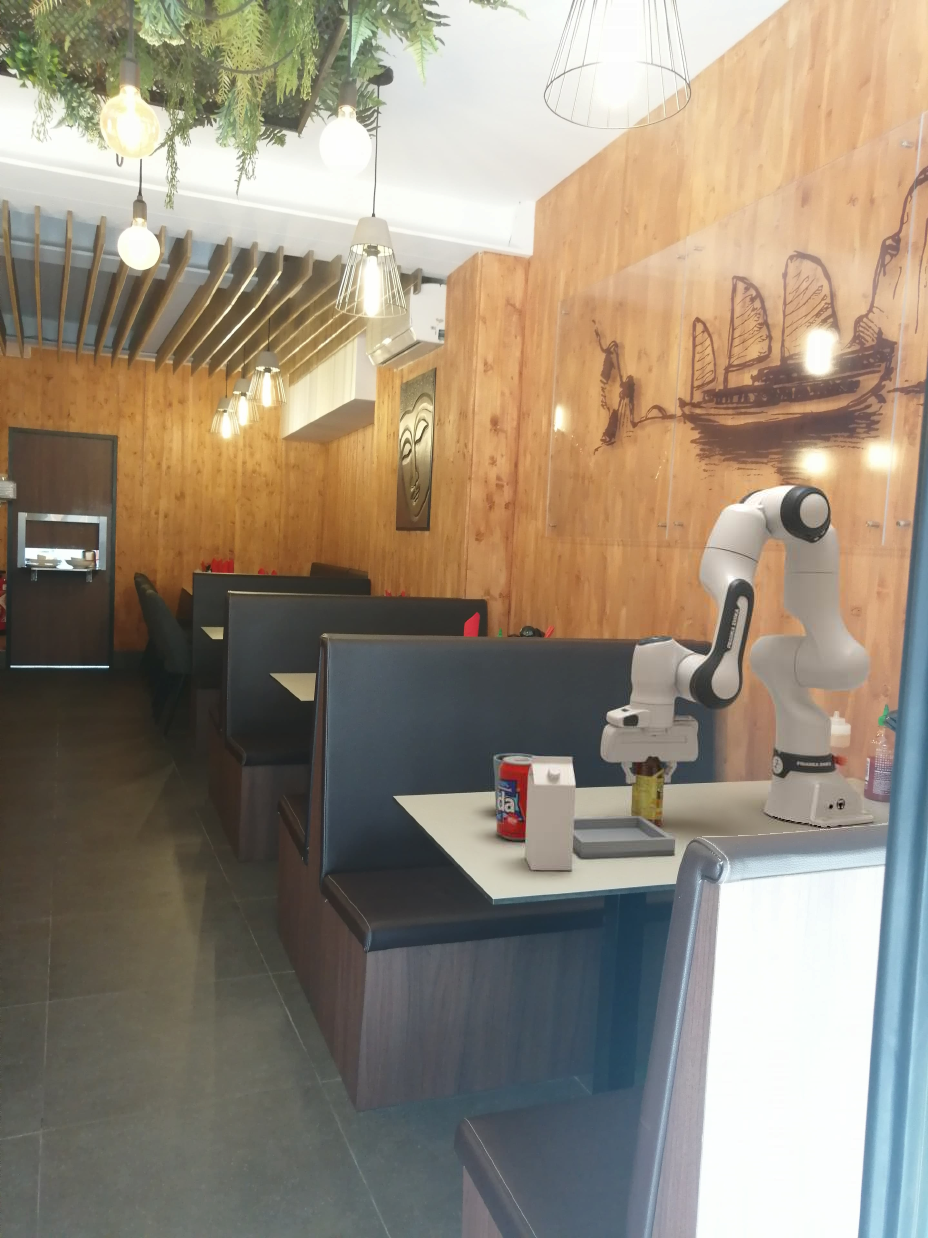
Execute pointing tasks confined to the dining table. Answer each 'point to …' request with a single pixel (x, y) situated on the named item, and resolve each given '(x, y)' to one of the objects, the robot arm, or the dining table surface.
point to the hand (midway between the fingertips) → (648, 783)
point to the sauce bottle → (648, 790)
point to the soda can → (513, 797)
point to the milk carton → (550, 813)
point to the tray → (620, 838)
